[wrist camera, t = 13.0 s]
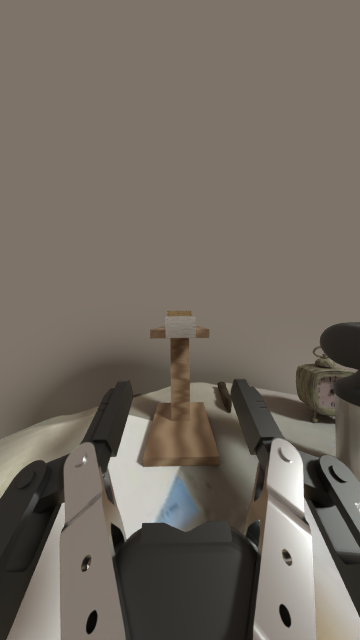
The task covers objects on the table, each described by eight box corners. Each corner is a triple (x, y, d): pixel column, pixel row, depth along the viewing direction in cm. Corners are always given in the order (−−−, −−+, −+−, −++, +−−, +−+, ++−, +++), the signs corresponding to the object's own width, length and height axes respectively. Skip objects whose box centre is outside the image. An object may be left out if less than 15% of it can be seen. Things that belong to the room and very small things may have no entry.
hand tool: (217, 388, 70) (217, 379, 70) (225, 389, 70) (225, 380, 70) (222, 413, 52) (221, 400, 52) (233, 414, 51) (233, 401, 51)
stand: (203, 407, 55) (202, 326, 55) (219, 465, 33) (217, 329, 33) (157, 408, 55) (156, 326, 55) (143, 466, 33) (141, 330, 33)
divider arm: (189, 326, 49) (189, 312, 49) (210, 337, 16) (210, 294, 16) (169, 327, 49) (169, 312, 49) (150, 338, 16) (149, 295, 16)
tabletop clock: (312, 425, 45) (310, 347, 45) (293, 408, 54) (291, 343, 54) (365, 430, 42) (363, 348, 43) (336, 411, 51) (335, 343, 52)
